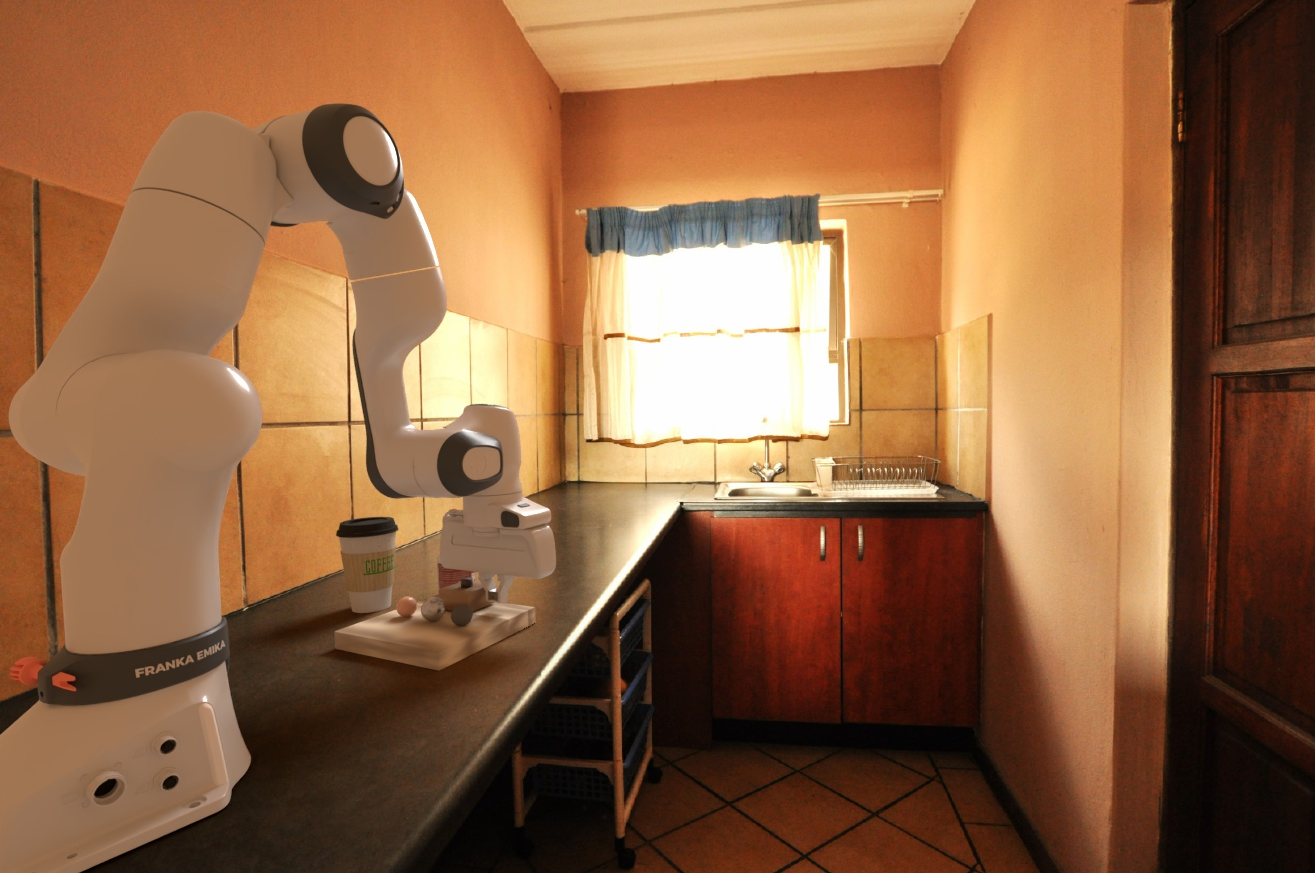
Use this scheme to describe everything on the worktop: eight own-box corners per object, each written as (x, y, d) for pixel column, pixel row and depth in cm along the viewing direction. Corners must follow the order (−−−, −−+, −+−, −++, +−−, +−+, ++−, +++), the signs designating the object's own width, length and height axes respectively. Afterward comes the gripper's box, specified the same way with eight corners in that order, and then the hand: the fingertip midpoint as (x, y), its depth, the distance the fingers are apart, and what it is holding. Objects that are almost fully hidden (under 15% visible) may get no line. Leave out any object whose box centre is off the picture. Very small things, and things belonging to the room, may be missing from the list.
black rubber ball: (462, 630, 92) (461, 608, 92) (446, 627, 94) (445, 606, 94) (477, 623, 95) (476, 602, 95) (461, 620, 96) (460, 600, 96)
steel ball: (433, 625, 94) (432, 601, 94) (416, 622, 96) (415, 599, 96) (451, 618, 98) (450, 595, 97) (434, 615, 99) (433, 592, 99)
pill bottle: (480, 602, 114) (478, 539, 113) (444, 609, 111) (441, 544, 110) (469, 594, 119) (467, 534, 119) (434, 601, 116) (432, 538, 115)
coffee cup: (402, 611, 110) (398, 522, 110) (337, 619, 107) (332, 528, 106) (401, 596, 120) (398, 514, 119) (342, 603, 116) (337, 519, 115)
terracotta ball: (406, 620, 97) (405, 600, 97) (392, 618, 99) (391, 598, 99) (422, 614, 100) (421, 595, 100) (408, 612, 101) (407, 593, 101)
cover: (468, 613, 99) (467, 585, 99) (439, 608, 102) (438, 581, 102) (495, 602, 104) (494, 575, 104) (466, 598, 107) (465, 572, 107)
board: (439, 670, 84) (438, 651, 84) (335, 648, 94) (334, 631, 93) (535, 622, 102) (535, 607, 102) (440, 608, 111) (439, 593, 111)
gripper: (427, 511, 102) (431, 599, 102) (533, 518, 92) (537, 615, 93) (457, 505, 107) (461, 589, 108) (560, 511, 98) (563, 602, 98)
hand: (497, 601), depth 100 cm, fingers closed
